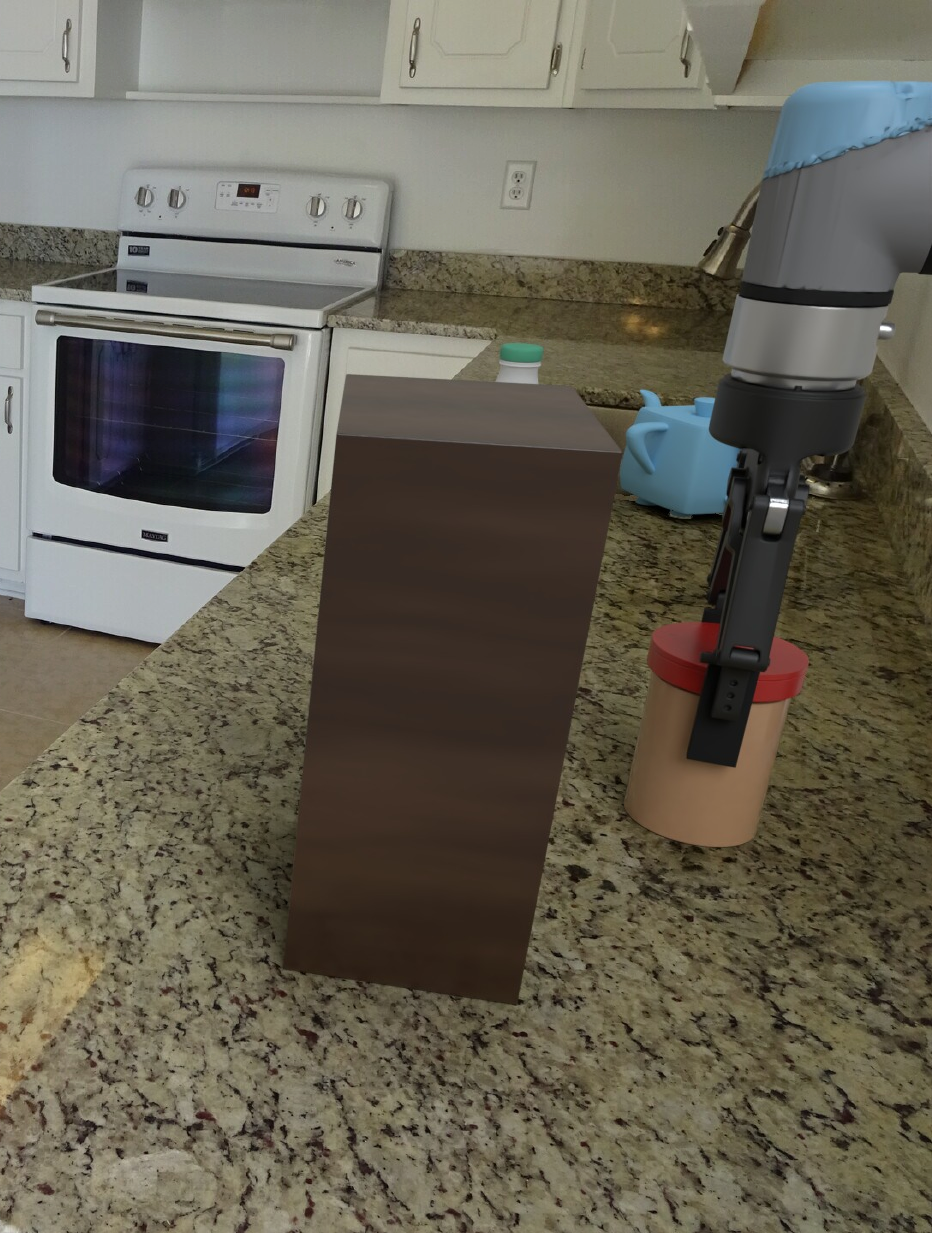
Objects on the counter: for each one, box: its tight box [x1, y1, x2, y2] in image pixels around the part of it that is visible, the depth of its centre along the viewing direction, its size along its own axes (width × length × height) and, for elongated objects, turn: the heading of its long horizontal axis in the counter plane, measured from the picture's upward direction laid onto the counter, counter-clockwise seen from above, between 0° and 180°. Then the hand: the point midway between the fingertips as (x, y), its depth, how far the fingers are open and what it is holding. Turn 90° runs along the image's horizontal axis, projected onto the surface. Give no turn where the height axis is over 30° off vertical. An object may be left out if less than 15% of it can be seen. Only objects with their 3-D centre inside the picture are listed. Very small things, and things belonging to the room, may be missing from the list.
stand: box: [282, 373, 624, 1005], centre depth 67 cm, size 16×12×29 cm
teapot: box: [619, 389, 741, 517], centre depth 151 cm, size 18×16×14 cm
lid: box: [646, 621, 810, 702], centre depth 78 cm, size 9×9×2 cm
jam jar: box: [623, 670, 792, 848], centre depth 80 cm, size 8×8×12 cm
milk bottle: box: [494, 342, 544, 384], centre depth 145 cm, size 8×8×20 cm
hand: (708, 729), depth 80 cm, fingers closed on lid, 9 cm apart
